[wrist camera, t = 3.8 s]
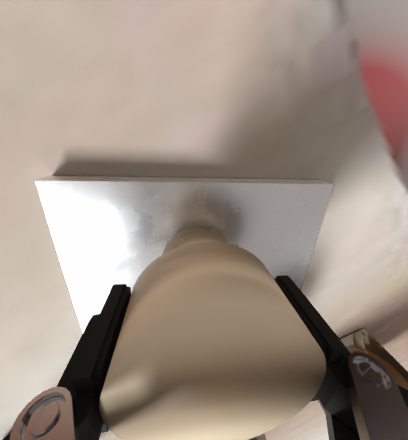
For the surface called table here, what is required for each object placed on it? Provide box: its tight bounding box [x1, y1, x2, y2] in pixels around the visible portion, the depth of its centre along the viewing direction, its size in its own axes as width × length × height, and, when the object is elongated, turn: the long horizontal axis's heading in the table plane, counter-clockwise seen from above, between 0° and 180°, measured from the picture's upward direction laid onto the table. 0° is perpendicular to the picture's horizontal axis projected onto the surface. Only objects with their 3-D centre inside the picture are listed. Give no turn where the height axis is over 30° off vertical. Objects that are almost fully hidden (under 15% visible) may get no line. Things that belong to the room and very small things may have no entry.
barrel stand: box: [35, 176, 334, 440], centre depth 13 cm, size 23×18×10 cm
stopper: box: [99, 227, 326, 440], centre depth 10 cm, size 7×7×8 cm
